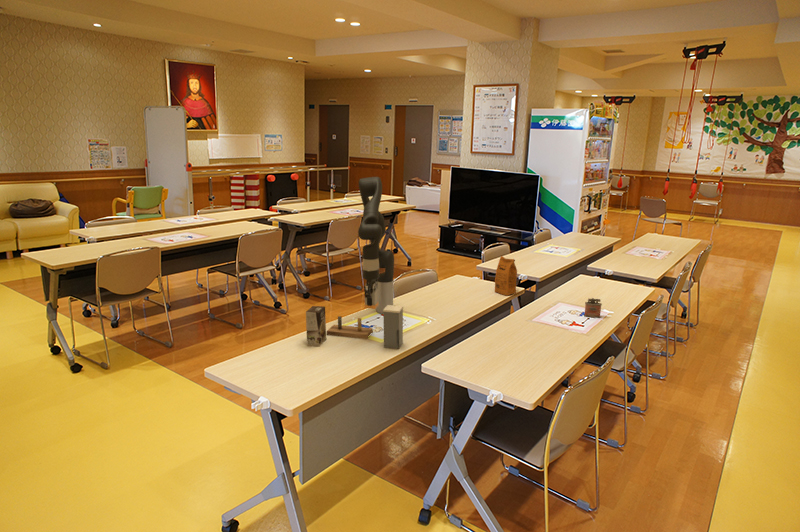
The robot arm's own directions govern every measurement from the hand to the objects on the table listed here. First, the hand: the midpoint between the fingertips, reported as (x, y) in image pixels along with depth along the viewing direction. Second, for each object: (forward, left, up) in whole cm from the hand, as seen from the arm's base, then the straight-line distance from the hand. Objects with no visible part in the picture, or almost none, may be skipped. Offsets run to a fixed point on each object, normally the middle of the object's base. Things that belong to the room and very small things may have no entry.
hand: (371, 303), depth 239 cm
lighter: (-58, +103, -17) cm, 119 cm away
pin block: (-4, -12, -17) cm, 21 cm away
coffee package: (-91, +56, -18) cm, 108 cm away
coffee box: (+10, -23, -17) cm, 31 cm away
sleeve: (0, 0, -2) cm, 2 cm away
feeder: (+5, +12, -17) cm, 22 cm away
